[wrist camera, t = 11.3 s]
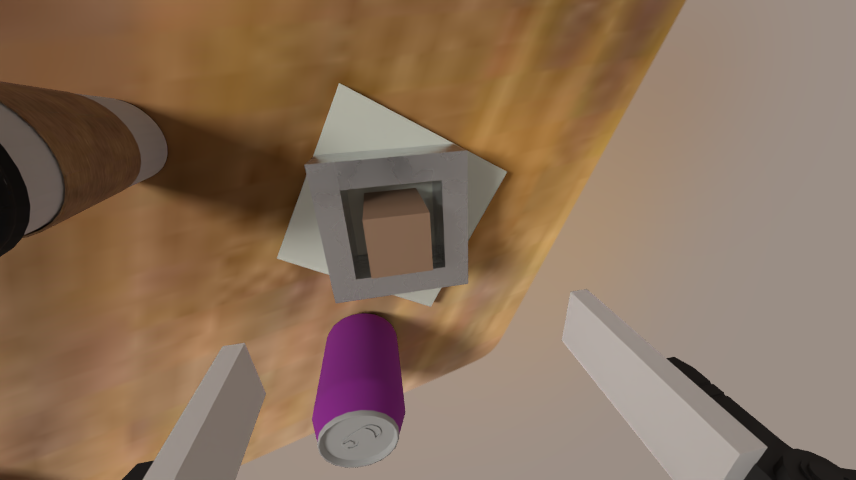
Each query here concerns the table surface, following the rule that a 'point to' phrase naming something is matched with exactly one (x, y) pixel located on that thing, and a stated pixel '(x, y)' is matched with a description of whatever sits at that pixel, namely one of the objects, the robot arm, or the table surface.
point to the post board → (376, 135)
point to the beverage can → (359, 393)
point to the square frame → (383, 169)
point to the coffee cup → (67, 155)
